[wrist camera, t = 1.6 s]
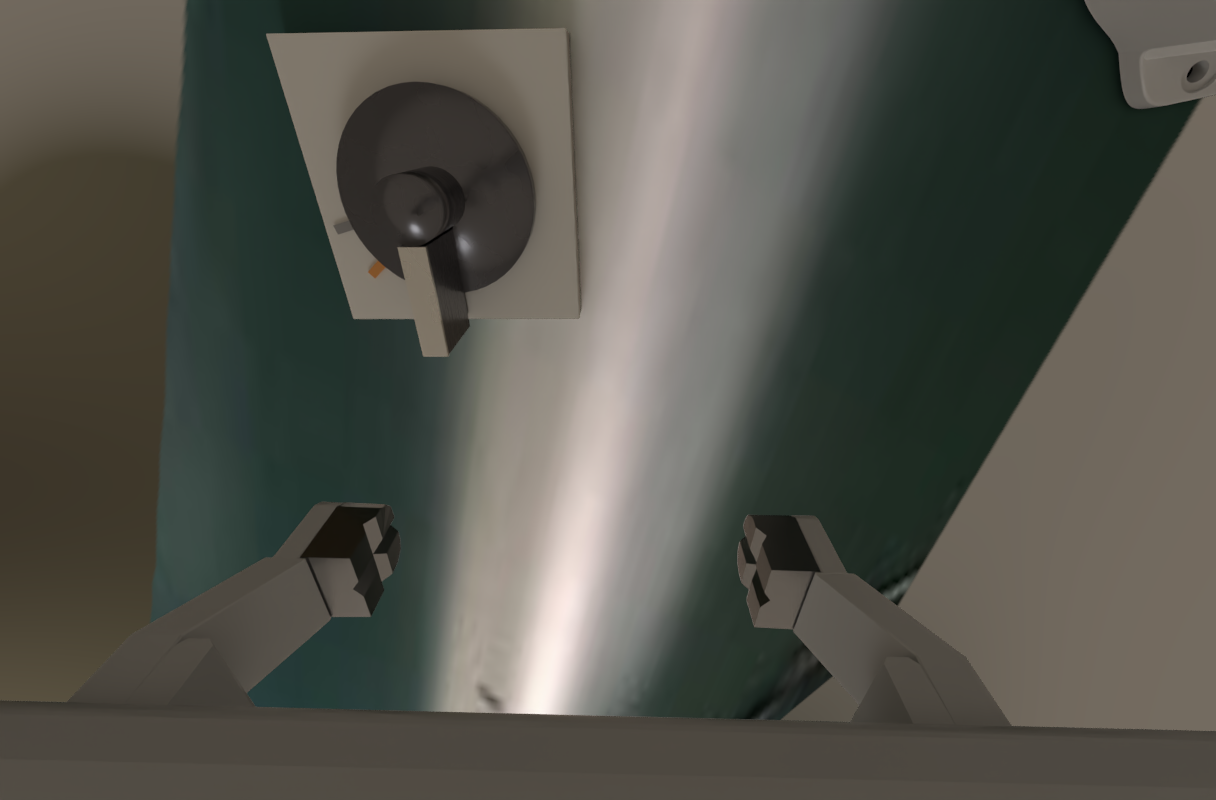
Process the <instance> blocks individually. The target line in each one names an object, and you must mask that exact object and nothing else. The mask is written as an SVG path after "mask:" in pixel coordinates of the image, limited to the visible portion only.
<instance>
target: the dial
mask: <svg viewBox="0 0 1216 800" xmlns="http://www.w3.org/2000/svg"><path fill="white" fill-rule="evenodd" d="M336 174H337V184H338V189H339V194H340V198H341V202H342V204H343V207H344V210H345V213H346V215H347V217H348V220H349V222H350V224H351V226H352V228H353V229H354V231H355V233H356V234H357V236H358V238H359V239H360V240H361V242H362V243H363V244H364V246H365V247H366V248H367V250H368V251H369V252H370V253H371V254H372V255H373V256H374V257H375V258H376V259H377V260H378V261H379V262H380V263H381V264H382V265H383V266H385V267H386V268H387V269H388V270H390V271H391V272H393V273H394V274H395V275H397V276H398V277H400V278H402V279H404V280H405V282H406V286H407V290H408V294H409V299H410V303H411V307H412V311H413V315H414V320H415V324H416V328H417V332H418V337H419V341H420V345H421V349H422V353H423V357H448V356H449V353H450V352H451V351H452V349H453V348H454V347H455V345H456V344H457V343H458V341H459V340H460V339H461V337H462V336H463V335H464V333H465V332H466V331H467V329H468V328H469V327H470V324H469V319H468V313H467V307H466V301H465V296H464V293H465V292H470V291H475V290H478V289H481V288H484V287H486V286H488V285H490V284H492V283H494V282H496V281H497V280H498V279H500V278H501V277H502V276H504V275H505V274H506V273H507V272H508V271H509V270H510V269H511V268H512V267H513V266H514V264H515V263H516V262H517V260H518V259H519V258H520V256H521V255H522V253H523V252H524V250H525V248H526V246H527V244H528V242H529V239H530V237H531V234H532V230H533V226H534V222H535V213H536V194H535V187H534V181H533V177H532V173H531V170H530V167H529V164H528V162H527V159H526V156H525V154H524V152H523V150H522V148H521V147H520V145H519V143H518V141H517V140H516V138H515V137H514V135H513V134H512V132H511V131H510V129H509V128H508V127H507V126H506V125H505V123H504V122H503V121H502V120H501V119H500V118H499V117H498V116H497V115H496V114H495V113H494V112H493V111H492V110H490V109H489V108H488V107H487V106H485V105H484V104H483V103H481V102H480V101H478V100H477V99H475V98H474V97H472V96H470V95H468V94H466V93H464V92H462V91H459V90H457V89H454V88H451V87H448V86H443V85H439V84H434V83H429V82H405V83H398V84H395V85H391V86H387V87H385V88H383V89H381V90H379V91H377V92H375V93H374V94H372V95H371V96H369V97H368V98H367V99H365V100H364V101H363V102H362V103H361V104H360V105H359V106H358V107H357V108H356V109H355V111H354V112H353V114H352V115H351V116H350V118H349V119H348V121H347V123H346V125H345V128H344V130H343V132H342V135H341V138H340V142H339V145H338V152H337V161H336Z"/></svg>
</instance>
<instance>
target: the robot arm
mask: <svg viewBox="0 0 1216 800" xmlns="http://www.w3.org/2000/svg"><path fill="white" fill-rule="evenodd" d="M1084 1H1085V3H1086V5H1087V7H1088V9H1089V11H1090V13H1091V14H1092V16H1093V17H1094V19H1095V20H1096V22H1097V23H1098V24H1099V25H1100V26H1101V28H1102V29H1103V30H1104V31H1105V33H1106V34H1107V35H1108V36H1109V37H1110V39H1111V40H1112V42H1113V43H1114V45H1115V47H1116V49H1117V51H1118V53H1119V66H1120V76H1121V84H1122V90H1123V94H1124V97H1125V99H1126V101H1127V103H1128V104H1129V105H1130V106H1131V107H1133V108H1136V109H1146V108H1153V107H1160V106H1166V105H1171V104H1176V103H1180V102H1185V101H1190V100H1194V99H1199V98H1204V97H1208V96H1213V95H1216V0H1084ZM1192 66H1193V70H1192V72H1191V74H1190V76H1189V77H1188V78H1187V74H1188V72H1189V70H1190V69H1191V67H1192ZM393 519H394V514H393V511H392V508H391V506H388V505H384V504H365V503H346V502H343V503H336V502H320V503H318V504H316V505H314V507H313V508H312V509H311V510H310V511H309V513H308V514H307V515H306V516H305V518H304V519H303V520H302V522H301V523H300V524H299V525H298V527H297V528H296V529H295V530H294V532H293V533H292V534H291V535H290V537H289V538H288V539H287V540H286V542H285V543H284V544H283V545H282V547H281V548H280V549H279V550H278V552H277V553H276V554H275V555H274V557H273V558H264V559H262V560H260V561H259V562H257V563H255V564H253V565H252V566H250V567H248V568H246V569H245V570H243V571H241V572H239V573H238V574H236V575H234V576H232V577H231V578H229V579H227V580H225V581H224V582H222V583H220V584H218V585H217V586H215V587H213V588H211V589H210V590H208V591H206V592H204V593H203V594H201V595H199V596H197V597H196V598H194V599H192V600H190V601H189V602H187V603H185V604H184V605H182V606H180V607H178V608H177V609H175V610H173V611H171V612H170V613H168V614H166V615H164V616H163V617H161V618H159V619H157V620H156V621H154V622H152V623H150V624H149V625H147V626H145V627H143V628H142V629H140V630H138V631H136V632H135V633H133V634H131V635H130V636H129V637H128V638H127V639H126V640H125V641H124V643H123V644H122V645H121V646H120V647H119V648H118V649H117V650H116V651H115V652H114V653H113V654H112V655H111V656H110V657H109V658H108V659H107V660H106V661H105V662H104V663H103V664H102V666H101V667H100V668H99V669H98V670H97V671H96V672H95V673H94V674H93V675H92V676H91V677H90V678H89V679H88V680H87V681H86V682H85V683H84V684H83V685H82V687H80V689H79V690H78V691H77V692H76V693H75V694H74V695H73V696H72V697H71V698H70V699H69V700H68V701H67V702H40V701H39V702H38V701H2V700H1V701H0V800H1216V731H1186V730H1148V729H1145V730H1144V729H1108V728H1105V729H1104V728H1067V727H1025V726H1011V724H1010V723H1009V721H1008V720H1007V718H1006V717H1005V715H1004V714H1003V712H1002V711H1001V709H1000V708H999V706H998V705H997V703H996V702H995V700H994V699H993V697H992V696H991V694H990V693H989V691H988V690H987V688H986V687H985V685H984V684H983V682H982V681H981V679H980V678H979V676H978V675H977V673H976V672H975V670H974V669H973V667H972V666H971V664H970V663H969V661H968V660H967V658H966V657H965V656H964V655H962V654H961V653H960V652H958V651H957V650H955V649H954V648H953V647H952V646H950V645H949V644H947V643H946V642H945V641H943V640H942V639H941V638H939V637H938V636H937V635H935V634H934V633H933V632H931V631H930V630H929V629H927V628H926V627H924V626H923V625H922V624H921V623H919V622H918V621H917V620H915V619H914V618H913V617H911V616H910V615H909V614H907V613H906V612H905V611H903V610H902V609H901V608H899V607H898V606H897V605H895V604H894V603H893V602H891V601H890V600H889V599H887V598H886V597H885V596H883V595H882V594H881V593H879V592H878V591H877V590H875V589H874V588H873V587H871V586H870V585H869V584H867V583H866V582H865V581H863V580H862V579H861V578H859V577H858V576H856V575H855V574H848V573H847V572H846V570H845V568H844V566H843V564H842V562H841V561H840V559H839V557H838V555H837V553H836V551H835V549H834V548H833V546H832V544H831V542H830V540H829V538H828V536H827V535H826V533H825V531H824V529H823V527H822V525H821V523H820V522H819V520H818V518H816V517H815V516H800V515H792V516H789V515H748V516H747V517H746V519H745V522H744V526H743V528H744V531H745V534H746V536H745V537H744V538H743V539H742V540H741V541H740V543H739V548H738V570H739V575H740V579H741V582H742V584H743V585H744V586H746V587H747V588H748V589H749V592H748V596H747V604H748V607H749V610H750V614H751V617H752V621H753V624H754V627H762V628H780V629H794V630H793V632H794V633H795V634H796V635H797V636H798V637H799V638H800V639H801V641H802V642H803V643H804V644H805V645H806V646H807V647H808V648H809V650H810V651H811V652H812V653H813V654H814V655H815V656H816V657H817V659H818V660H819V661H820V662H821V663H822V664H823V665H824V666H825V668H826V669H827V670H828V671H829V672H830V673H831V674H832V675H833V677H834V678H835V679H836V680H837V681H838V682H839V683H840V684H841V685H842V687H843V688H844V689H845V690H846V691H847V692H848V693H849V694H850V696H851V697H852V698H853V699H854V700H855V701H856V702H857V703H858V704H859V707H858V709H857V711H856V712H855V714H854V716H853V718H852V720H851V722H829V721H789V720H750V719H710V718H670V717H630V716H590V715H550V714H509V713H469V712H429V711H389V710H350V709H311V708H272V707H255V705H254V704H253V702H252V701H251V699H250V698H249V696H248V695H247V692H248V691H249V690H251V689H252V688H253V687H254V686H255V685H256V684H257V683H259V682H260V681H261V680H262V679H263V678H264V677H265V676H267V675H268V674H269V673H270V672H271V671H272V670H273V669H275V668H276V667H277V666H278V665H279V664H280V663H281V662H283V661H284V660H285V659H286V658H287V657H288V656H290V655H291V654H292V653H293V652H294V651H295V650H296V649H298V648H299V647H300V646H301V645H302V644H303V643H304V642H306V641H307V640H308V639H309V638H310V637H311V636H312V635H314V634H315V633H316V632H317V631H318V630H319V629H320V628H322V627H323V626H324V625H325V624H326V623H327V622H328V621H330V620H331V617H371V616H372V614H373V612H374V610H375V608H376V606H377V604H378V602H379V600H380V598H381V596H382V594H383V592H384V588H383V585H382V581H383V580H384V579H386V578H387V577H388V576H390V575H391V574H392V573H393V571H394V569H395V567H396V565H397V563H398V559H399V555H400V550H401V544H400V536H399V532H398V531H397V530H396V529H395V528H394V527H392V526H391V525H390V524H391V523H392V521H393Z"/></svg>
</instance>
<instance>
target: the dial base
mask: <svg viewBox="0 0 1216 800" xmlns="http://www.w3.org/2000/svg"><path fill="white" fill-rule="evenodd" d="M266 36H267V39H268V42H269V45H270V49H271V52H272V55H273V58H274V62H275V65H276V68H277V71H278V75H279V78H280V81H281V84H282V88H283V91H284V94H285V97H286V101H287V104H288V107H289V110H290V114H291V117H292V120H293V123H294V127H295V130H296V133H297V136H298V140H299V143H300V146H301V149H302V153H303V156H304V159H305V162H306V166H307V169H308V172H309V175H310V179H311V182H312V185H313V188H314V192H315V195H316V198H317V201H318V205H319V208H320V211H321V214H322V218H323V221H324V224H325V227H326V231H327V234H328V237H329V240H330V244H331V247H332V250H333V253H334V257H335V260H336V263H337V266H338V270H339V273H340V276H341V279H342V283H343V286H344V289H345V292H346V296H347V299H348V302H349V305H350V309H351V312H352V315H353V318H354V319H414V315H413V311H412V307H411V303H410V299H409V294H408V290H407V286H406V282H405V280H404V279H402V278H400V277H398V276H397V275H395V274H394V273H393V272H391V271H390V270H388V269H387V268H386V267H385V266H383V265H382V264H381V263H380V262H379V261H378V260H377V259H376V258H375V257H374V256H373V255H372V254H371V253H370V252H369V251H368V250H367V248H366V247H365V246H364V244H363V243H362V242H361V240H360V239H359V238H358V236H357V234H356V233H355V231H354V229H353V228H352V226H351V224H350V222H349V220H348V217H347V215H346V213H345V210H344V207H343V204H342V202H341V198H340V194H339V189H338V184H337V174H336V161H337V152H338V145H339V142H340V138H341V135H342V132H343V130H344V128H345V125H346V123H347V121H348V119H349V118H350V116H351V115H352V114H353V112H354V111H355V109H356V108H357V107H358V106H359V105H360V104H361V103H362V102H363V101H364V100H365V99H367V98H368V97H369V96H371V95H372V94H374V93H375V92H377V91H379V90H381V89H383V88H385V87H387V86H391V85H395V84H398V83H405V82H429V83H434V84H439V85H443V86H448V87H451V88H454V89H457V90H459V91H462V92H464V93H466V94H468V95H470V96H472V97H474V98H475V99H477V100H478V101H480V102H481V103H483V104H484V105H485V106H487V107H488V108H489V109H490V110H492V111H493V112H494V113H495V114H496V115H497V116H498V117H499V118H500V119H501V120H502V121H503V122H504V123H505V125H506V126H507V127H508V128H509V129H510V131H511V132H512V134H513V135H514V137H515V138H516V140H517V141H518V143H519V145H520V147H521V148H522V150H523V152H524V154H525V156H526V159H527V162H528V164H529V167H530V170H531V173H532V177H533V181H534V187H535V194H536V213H535V222H534V226H533V230H532V234H531V237H530V239H529V242H528V244H527V246H526V248H525V250H524V252H523V253H522V255H521V256H520V258H519V259H518V260H517V262H516V263H515V264H514V266H513V267H512V268H511V269H510V270H509V271H508V272H507V273H506V274H505V275H504V276H502V277H501V278H500V279H498V280H497V281H496V282H494V283H492V284H490V285H488V286H486V287H484V288H481V289H478V290H475V291H470V292H465V293H464V296H465V301H466V307H467V313H468V319H579V318H580V313H581V295H580V272H579V249H578V226H577V203H576V179H575V156H574V133H573V110H572V86H571V63H570V40H569V32H568V31H567V29H566V28H541V29H489V30H438V31H387V32H335V33H284V34H266Z"/></svg>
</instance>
